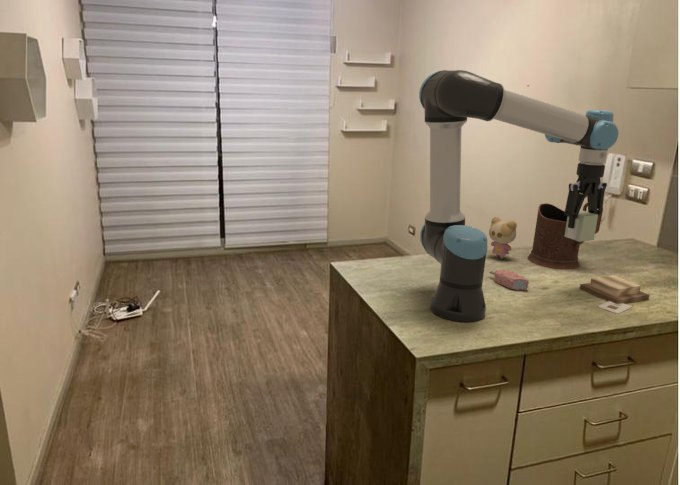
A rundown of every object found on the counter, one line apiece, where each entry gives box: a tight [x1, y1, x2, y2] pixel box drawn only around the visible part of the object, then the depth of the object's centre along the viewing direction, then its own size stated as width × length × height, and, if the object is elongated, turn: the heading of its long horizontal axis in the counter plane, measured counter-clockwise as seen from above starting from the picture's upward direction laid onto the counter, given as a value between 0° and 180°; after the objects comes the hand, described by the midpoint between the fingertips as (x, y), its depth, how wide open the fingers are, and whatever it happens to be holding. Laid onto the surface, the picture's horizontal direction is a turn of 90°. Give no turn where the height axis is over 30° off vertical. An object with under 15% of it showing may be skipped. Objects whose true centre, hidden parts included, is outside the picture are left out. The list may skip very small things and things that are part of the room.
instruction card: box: [597, 301, 633, 315], centre depth 160 cm, size 9×6×1 cm, turn 129°
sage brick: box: [564, 210, 598, 242], centre depth 168 cm, size 6×6×8 cm
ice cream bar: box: [489, 269, 530, 291], centre depth 174 cm, size 6×4×15 cm
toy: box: [488, 216, 518, 260], centre depth 199 cm, size 10×8×15 cm
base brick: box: [579, 274, 650, 304], centre depth 170 cm, size 14×14×4 cm
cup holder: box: [526, 202, 604, 271], centre depth 195 cm, size 18×24×25 cm
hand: (579, 237), depth 169 cm, fingers closed on sage brick, 6 cm apart
